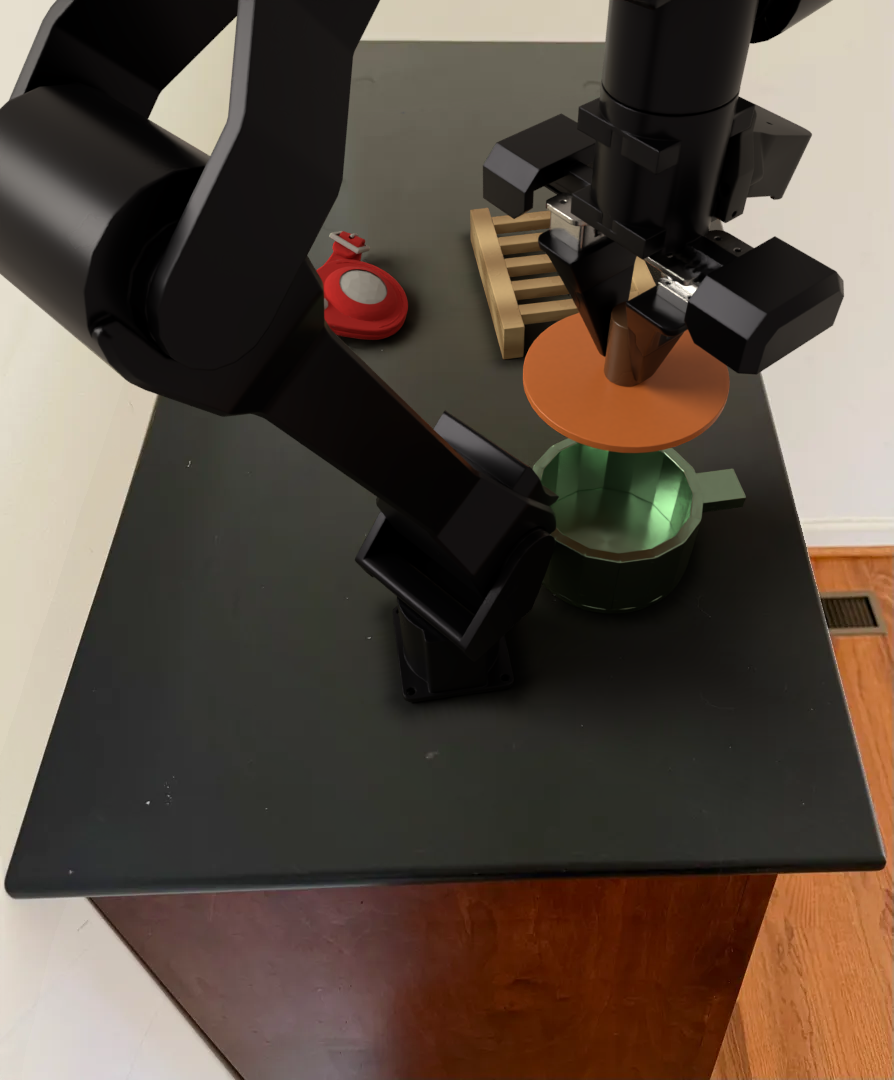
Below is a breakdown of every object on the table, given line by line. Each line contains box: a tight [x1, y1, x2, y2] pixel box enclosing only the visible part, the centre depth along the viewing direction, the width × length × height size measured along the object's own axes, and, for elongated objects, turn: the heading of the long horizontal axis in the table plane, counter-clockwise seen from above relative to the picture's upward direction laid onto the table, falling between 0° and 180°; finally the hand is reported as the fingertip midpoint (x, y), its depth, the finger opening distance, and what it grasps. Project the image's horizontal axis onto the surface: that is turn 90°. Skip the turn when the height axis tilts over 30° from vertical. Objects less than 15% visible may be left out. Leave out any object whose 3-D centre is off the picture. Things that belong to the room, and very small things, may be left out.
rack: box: [469, 207, 657, 360], centre depth 74 cm, size 16×13×3 cm
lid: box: [522, 301, 731, 453], centre depth 50 cm, size 11×11×5 cm
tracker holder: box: [316, 230, 409, 341], centre depth 74 cm, size 12×4×10 cm
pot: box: [532, 437, 747, 615], centre depth 57 cm, size 10×16×6 cm, turn 98°
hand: (626, 365), depth 50 cm, fingers closed on lid, 2 cm apart
